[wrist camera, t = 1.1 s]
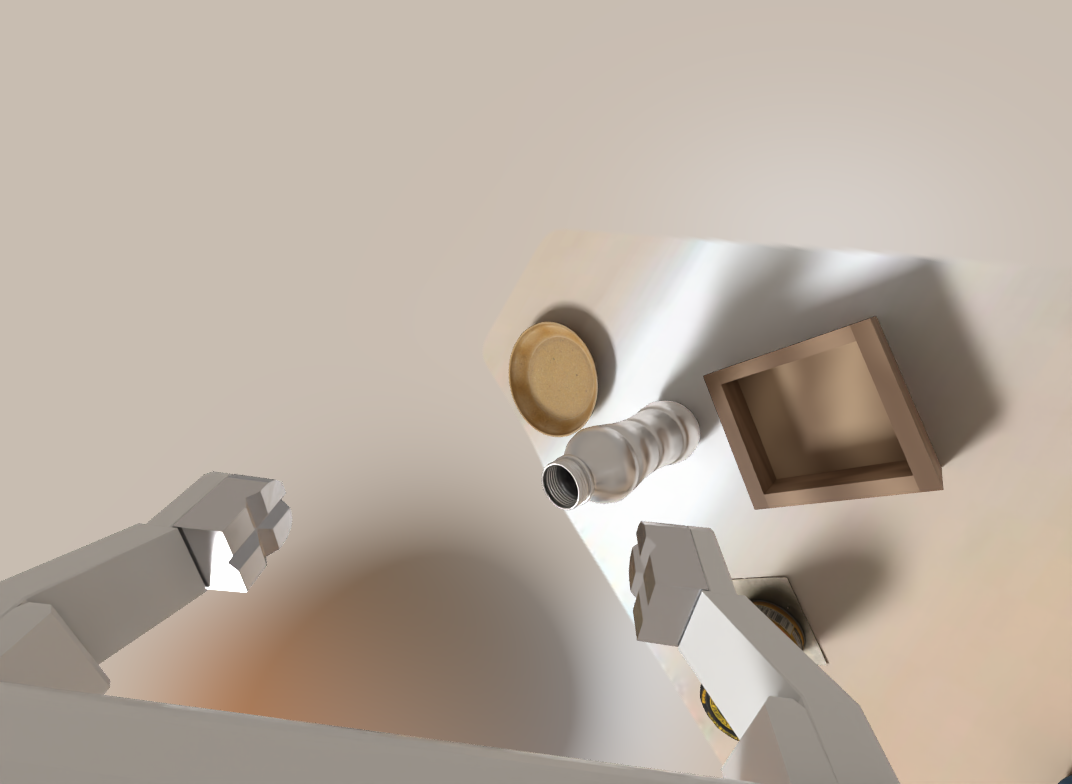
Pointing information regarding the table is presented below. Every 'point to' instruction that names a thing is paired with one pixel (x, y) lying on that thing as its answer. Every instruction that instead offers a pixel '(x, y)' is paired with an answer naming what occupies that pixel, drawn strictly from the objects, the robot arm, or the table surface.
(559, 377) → the plant saucer
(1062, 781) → the soda can
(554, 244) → the table surface
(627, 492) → the plastic bottle
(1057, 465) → the table surface
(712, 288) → the table surface
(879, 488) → the tray
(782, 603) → the condiment
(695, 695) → the table surface
